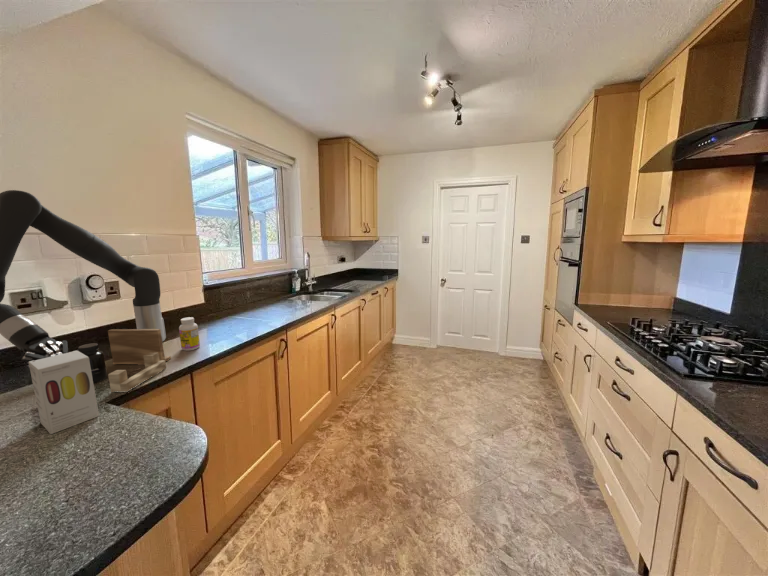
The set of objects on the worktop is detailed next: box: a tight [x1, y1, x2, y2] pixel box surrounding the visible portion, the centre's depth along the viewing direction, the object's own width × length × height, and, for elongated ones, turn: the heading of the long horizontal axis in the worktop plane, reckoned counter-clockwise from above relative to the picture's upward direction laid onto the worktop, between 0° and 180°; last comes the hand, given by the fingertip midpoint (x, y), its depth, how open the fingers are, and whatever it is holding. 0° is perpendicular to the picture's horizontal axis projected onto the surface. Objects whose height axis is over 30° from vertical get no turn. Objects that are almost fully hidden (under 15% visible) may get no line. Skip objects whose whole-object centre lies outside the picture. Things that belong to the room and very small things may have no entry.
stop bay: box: [107, 353, 167, 392], centre depth 102 cm, size 17×5×6 cm, turn 0°
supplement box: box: [28, 349, 100, 435], centre depth 80 cm, size 10×9×17 cm
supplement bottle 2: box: [178, 316, 201, 352], centre depth 129 cm, size 7×7×13 cm
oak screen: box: [107, 328, 172, 365], centre depth 116 cm, size 5×18×13 cm, turn 90°
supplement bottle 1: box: [77, 342, 108, 384], centre depth 102 cm, size 7×7×12 cm
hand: (68, 367), depth 102 cm, fingers closed
